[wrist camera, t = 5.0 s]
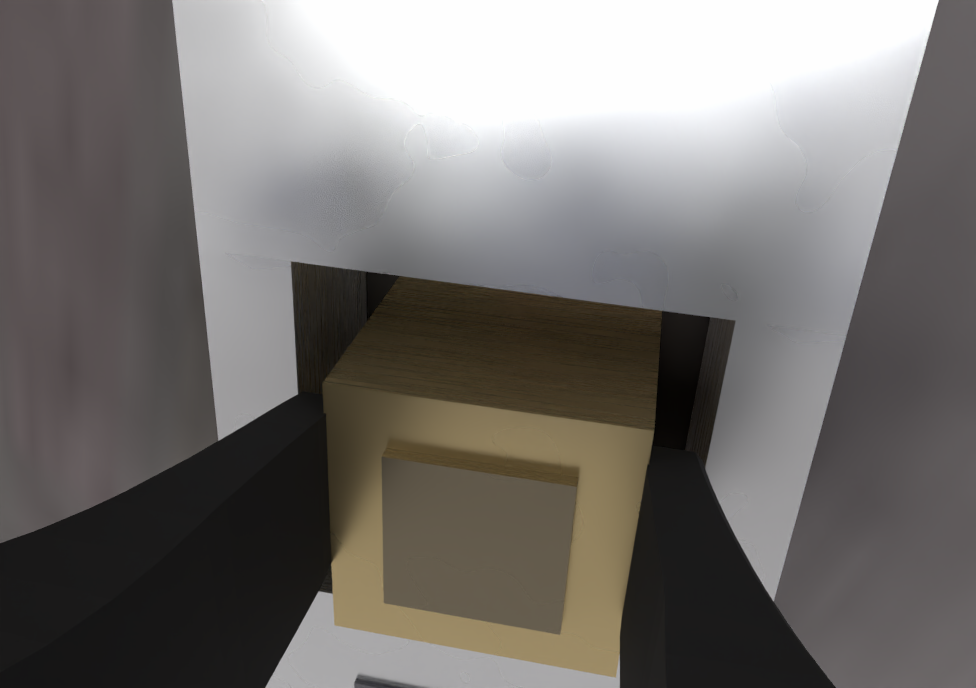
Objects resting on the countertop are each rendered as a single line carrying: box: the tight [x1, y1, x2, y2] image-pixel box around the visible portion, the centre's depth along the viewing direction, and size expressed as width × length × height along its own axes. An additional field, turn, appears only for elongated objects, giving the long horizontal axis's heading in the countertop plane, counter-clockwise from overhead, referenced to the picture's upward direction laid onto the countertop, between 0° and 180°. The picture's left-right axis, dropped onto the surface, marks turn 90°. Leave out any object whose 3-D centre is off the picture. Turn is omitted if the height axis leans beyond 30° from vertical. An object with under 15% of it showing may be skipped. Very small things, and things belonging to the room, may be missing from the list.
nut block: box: [322, 276, 662, 678], centre depth 13 cm, size 4×4×4 cm
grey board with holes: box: [172, 0, 938, 688], centre depth 15 cm, size 8×22×3 cm, turn 177°
